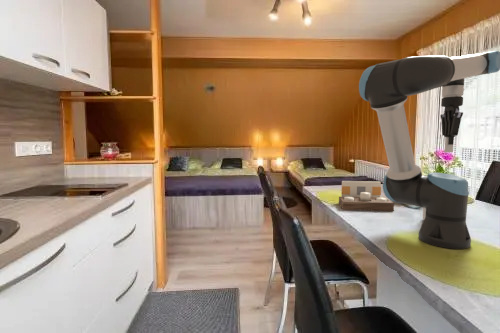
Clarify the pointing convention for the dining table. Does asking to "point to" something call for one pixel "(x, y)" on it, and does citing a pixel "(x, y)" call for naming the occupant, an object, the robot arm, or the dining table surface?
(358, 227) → the dining table surface
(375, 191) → the pattern card
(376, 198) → the button
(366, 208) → the button board
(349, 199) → the button
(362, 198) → the button
